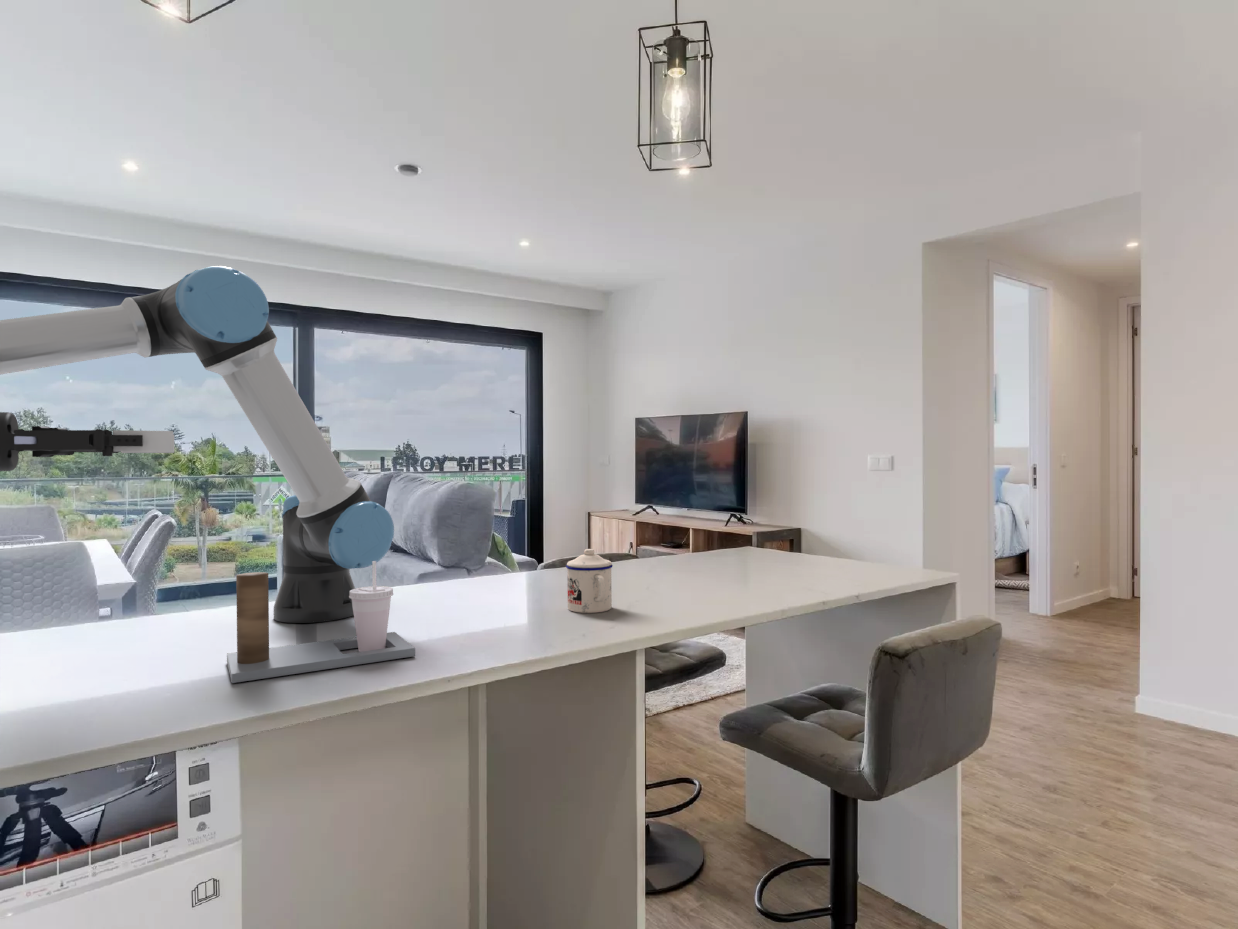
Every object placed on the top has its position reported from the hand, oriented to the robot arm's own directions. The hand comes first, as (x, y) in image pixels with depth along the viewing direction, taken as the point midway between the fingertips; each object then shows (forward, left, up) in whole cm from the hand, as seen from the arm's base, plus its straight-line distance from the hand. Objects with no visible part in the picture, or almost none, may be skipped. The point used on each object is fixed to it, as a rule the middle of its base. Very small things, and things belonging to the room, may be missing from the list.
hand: (174, 442), depth 101 cm
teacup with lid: (-3, +69, -32) cm, 76 cm away
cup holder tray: (+6, +18, -32) cm, 37 cm away
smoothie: (+6, +25, -32) cm, 41 cm away
